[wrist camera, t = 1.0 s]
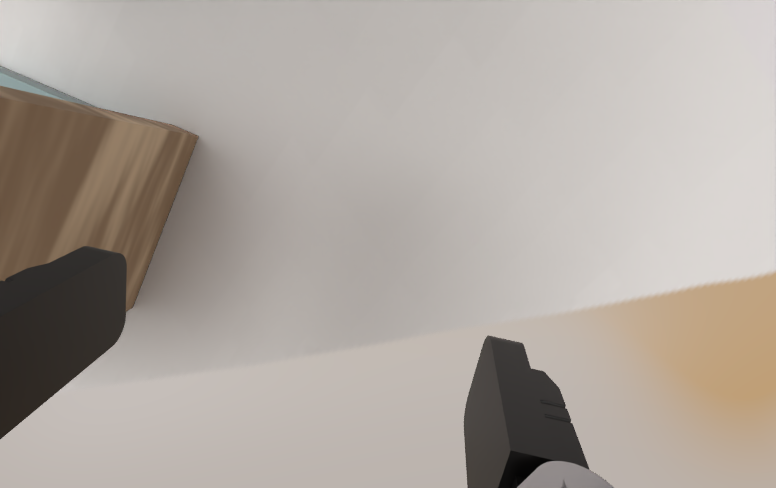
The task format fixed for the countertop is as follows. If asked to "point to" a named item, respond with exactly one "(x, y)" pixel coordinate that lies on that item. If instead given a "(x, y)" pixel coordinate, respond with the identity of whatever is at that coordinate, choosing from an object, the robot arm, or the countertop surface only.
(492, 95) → the countertop surface
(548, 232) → the countertop surface
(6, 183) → the wooden l-shaped stand
